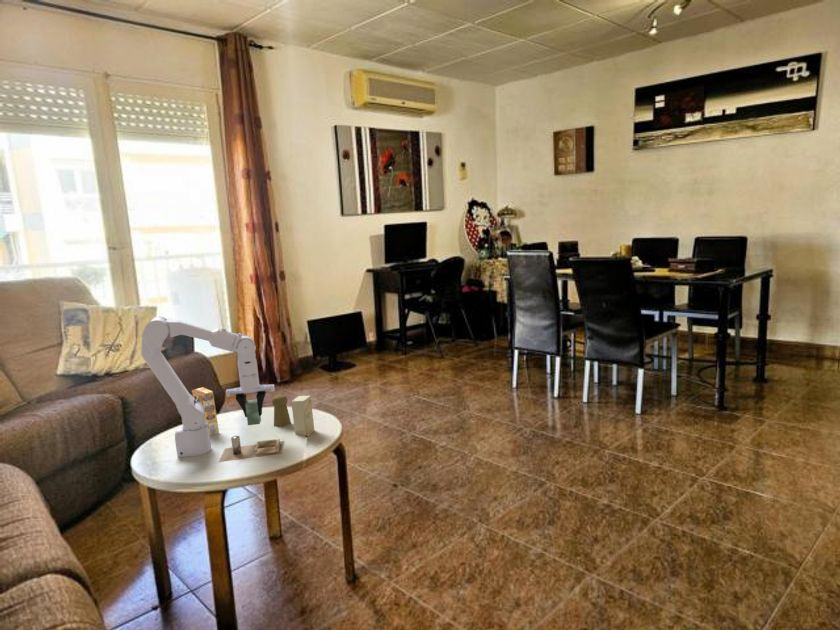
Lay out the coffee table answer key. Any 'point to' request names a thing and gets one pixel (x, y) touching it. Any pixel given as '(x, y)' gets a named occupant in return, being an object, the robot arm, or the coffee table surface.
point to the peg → (252, 412)
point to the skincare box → (303, 415)
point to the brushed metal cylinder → (236, 445)
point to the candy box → (207, 408)
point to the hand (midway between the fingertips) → (253, 415)
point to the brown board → (254, 450)
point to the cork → (280, 411)
